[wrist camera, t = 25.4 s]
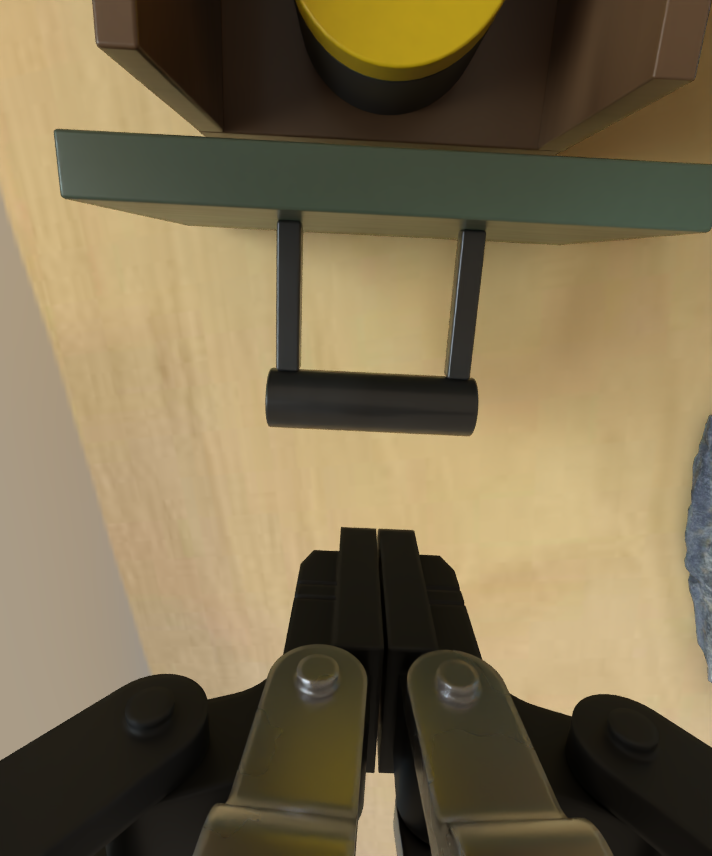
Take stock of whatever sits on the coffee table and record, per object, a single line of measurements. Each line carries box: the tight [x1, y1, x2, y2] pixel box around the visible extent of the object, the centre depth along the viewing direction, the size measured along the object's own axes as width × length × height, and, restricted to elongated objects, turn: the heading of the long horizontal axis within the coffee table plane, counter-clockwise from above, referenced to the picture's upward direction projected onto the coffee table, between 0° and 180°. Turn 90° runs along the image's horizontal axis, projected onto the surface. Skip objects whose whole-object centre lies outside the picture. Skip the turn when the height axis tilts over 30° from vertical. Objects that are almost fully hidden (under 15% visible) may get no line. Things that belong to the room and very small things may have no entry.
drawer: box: [54, 0, 712, 436], centre depth 12 cm, size 20×13×8 cm, turn 177°
